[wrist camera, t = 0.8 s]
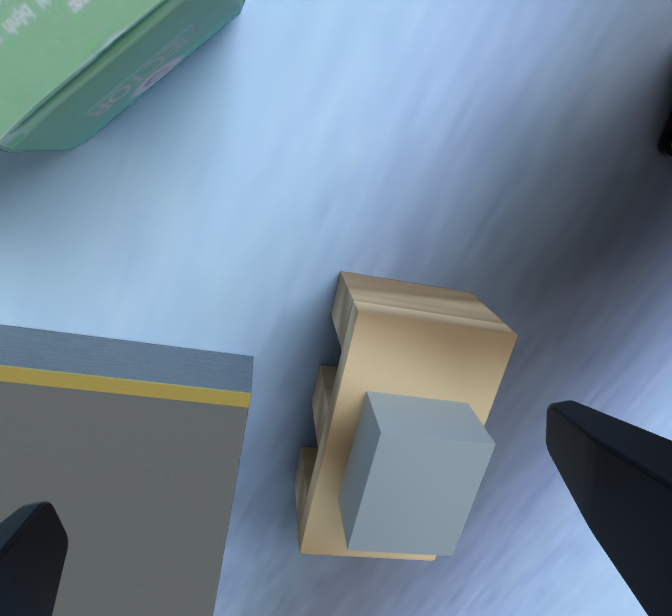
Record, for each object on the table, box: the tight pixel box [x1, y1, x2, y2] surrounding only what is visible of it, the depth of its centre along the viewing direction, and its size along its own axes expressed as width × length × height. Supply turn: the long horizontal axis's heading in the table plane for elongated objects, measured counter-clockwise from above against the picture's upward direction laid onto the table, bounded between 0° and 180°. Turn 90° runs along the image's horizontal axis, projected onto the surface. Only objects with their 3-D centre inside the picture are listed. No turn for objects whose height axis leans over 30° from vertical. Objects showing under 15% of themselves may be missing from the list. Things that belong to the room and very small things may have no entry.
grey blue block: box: [338, 391, 496, 556], centre depth 18 cm, size 5×4×2 cm
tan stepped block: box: [294, 271, 518, 561], centre depth 21 cm, size 11×6×4 cm, turn 168°
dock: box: [0, 325, 253, 616], centre depth 21 cm, size 13×14×5 cm
